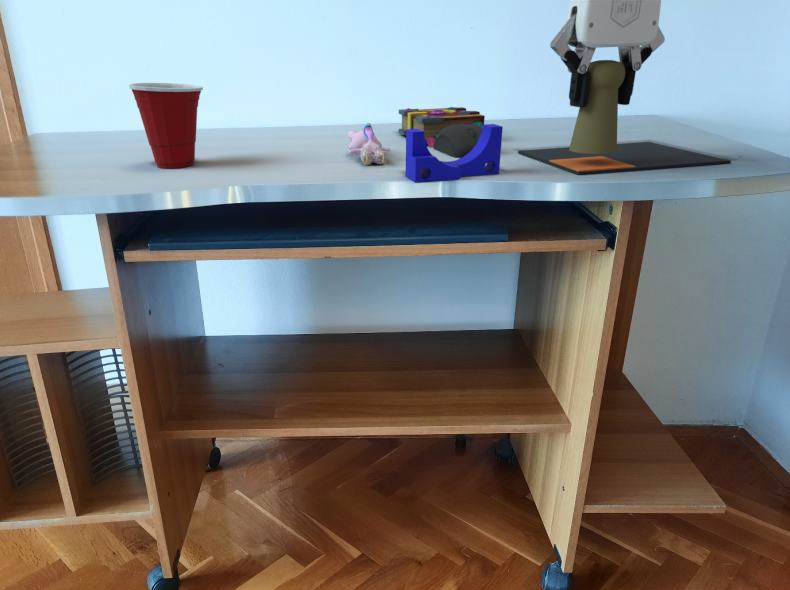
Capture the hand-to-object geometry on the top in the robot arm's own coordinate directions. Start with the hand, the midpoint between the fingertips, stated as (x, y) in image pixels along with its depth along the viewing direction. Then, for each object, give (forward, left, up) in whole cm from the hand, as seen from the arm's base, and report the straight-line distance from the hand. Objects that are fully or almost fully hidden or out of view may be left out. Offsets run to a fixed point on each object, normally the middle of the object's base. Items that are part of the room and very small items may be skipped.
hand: (599, 103), depth 83 cm
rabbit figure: (+27, -18, -8) cm, 34 cm away
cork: (0, 0, -6) cm, 6 cm away
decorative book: (+10, -33, -8) cm, 35 cm away
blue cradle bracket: (+19, -1, -8) cm, 21 cm away
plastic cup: (+56, -24, -8) cm, 62 cm away
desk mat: (-7, -5, -8) cm, 12 cm away
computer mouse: (+11, -19, -8) cm, 24 cm away
